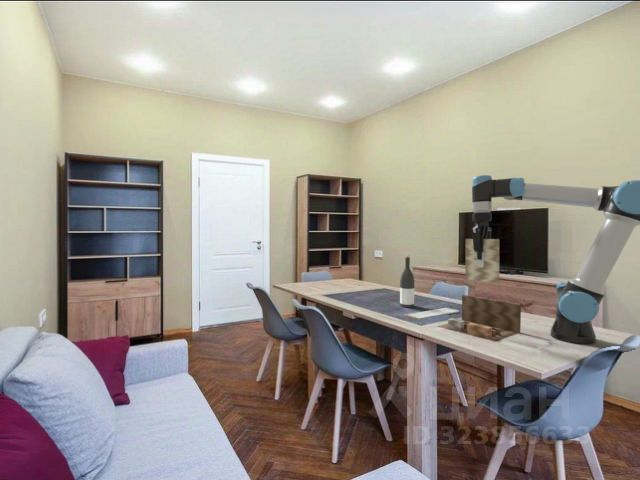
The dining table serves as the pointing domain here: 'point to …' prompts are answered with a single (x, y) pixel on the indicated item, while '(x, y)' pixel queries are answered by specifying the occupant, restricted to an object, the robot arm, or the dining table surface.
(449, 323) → the grey mdf offcut
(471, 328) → the cherry offcut
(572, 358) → the dining table surface
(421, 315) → the baseboard molding
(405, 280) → the wine bottle
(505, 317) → the walnut rack
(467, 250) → the birch sheet
